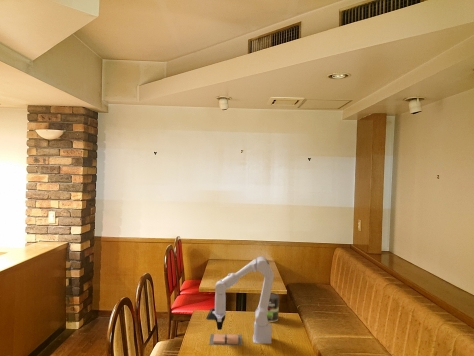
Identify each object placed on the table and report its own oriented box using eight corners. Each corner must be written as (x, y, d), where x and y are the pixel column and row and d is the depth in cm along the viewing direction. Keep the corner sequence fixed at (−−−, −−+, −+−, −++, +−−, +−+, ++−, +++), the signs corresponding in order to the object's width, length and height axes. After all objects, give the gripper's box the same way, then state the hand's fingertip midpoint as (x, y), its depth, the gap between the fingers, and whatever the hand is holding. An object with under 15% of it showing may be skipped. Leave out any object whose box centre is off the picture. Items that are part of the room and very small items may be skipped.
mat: (241, 335, 182) (241, 334, 182) (242, 346, 171) (242, 345, 171) (210, 334, 182) (210, 334, 182) (209, 345, 171) (209, 344, 171)
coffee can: (277, 323, 198) (277, 299, 197) (260, 320, 201) (260, 297, 200) (279, 316, 208) (280, 293, 207) (263, 313, 211) (264, 291, 210)
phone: (206, 318, 200) (211, 308, 215) (205, 320, 200) (211, 309, 215) (218, 319, 199) (223, 309, 214) (218, 321, 199) (223, 310, 214)
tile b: (225, 334, 180) (224, 341, 173) (225, 336, 180) (224, 343, 173) (214, 334, 179) (213, 340, 172) (214, 336, 180) (213, 343, 173)
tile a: (238, 334, 180) (238, 341, 173) (238, 337, 180) (238, 344, 173) (227, 334, 180) (226, 341, 173) (227, 337, 180) (226, 343, 173)
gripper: (213, 298, 185) (213, 322, 185) (211, 309, 170) (211, 335, 171) (226, 298, 185) (225, 322, 185) (225, 309, 170) (225, 336, 171)
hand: (219, 329), depth 178 cm, fingers closed
